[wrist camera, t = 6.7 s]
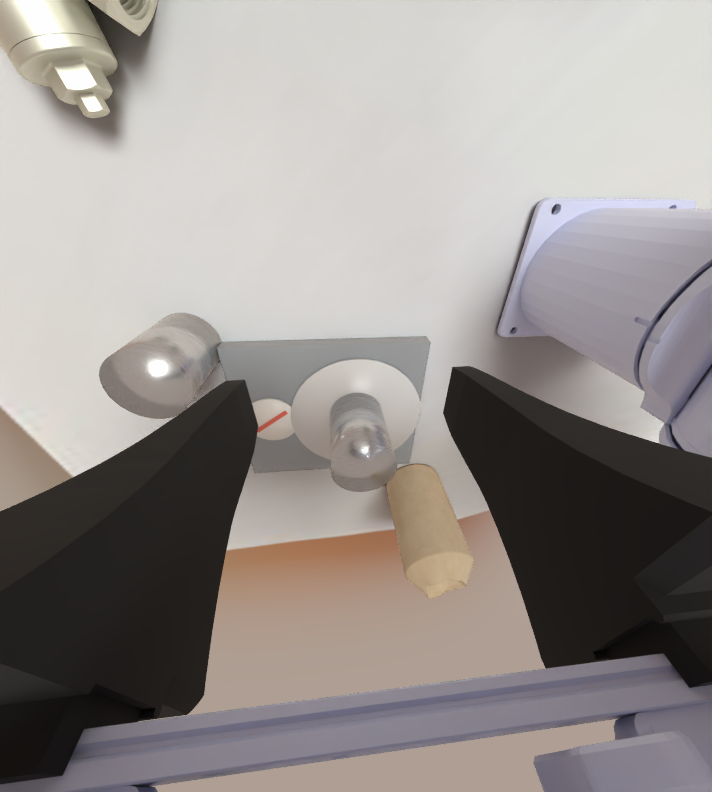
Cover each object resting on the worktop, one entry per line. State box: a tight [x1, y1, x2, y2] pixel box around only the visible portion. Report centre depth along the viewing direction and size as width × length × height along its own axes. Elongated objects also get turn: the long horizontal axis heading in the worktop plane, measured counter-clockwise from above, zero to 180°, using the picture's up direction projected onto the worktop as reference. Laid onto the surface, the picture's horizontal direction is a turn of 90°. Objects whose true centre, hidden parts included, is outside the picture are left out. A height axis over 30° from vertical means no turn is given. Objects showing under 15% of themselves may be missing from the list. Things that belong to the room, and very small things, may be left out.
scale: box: [217, 336, 430, 473], centre depth 22 cm, size 14×12×1 cm
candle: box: [387, 464, 474, 598], centre depth 25 cm, size 6×6×10 cm
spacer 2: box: [330, 393, 397, 492], centre depth 19 cm, size 4×4×6 cm
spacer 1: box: [99, 313, 222, 419], centre depth 16 cm, size 4×4×6 cm
